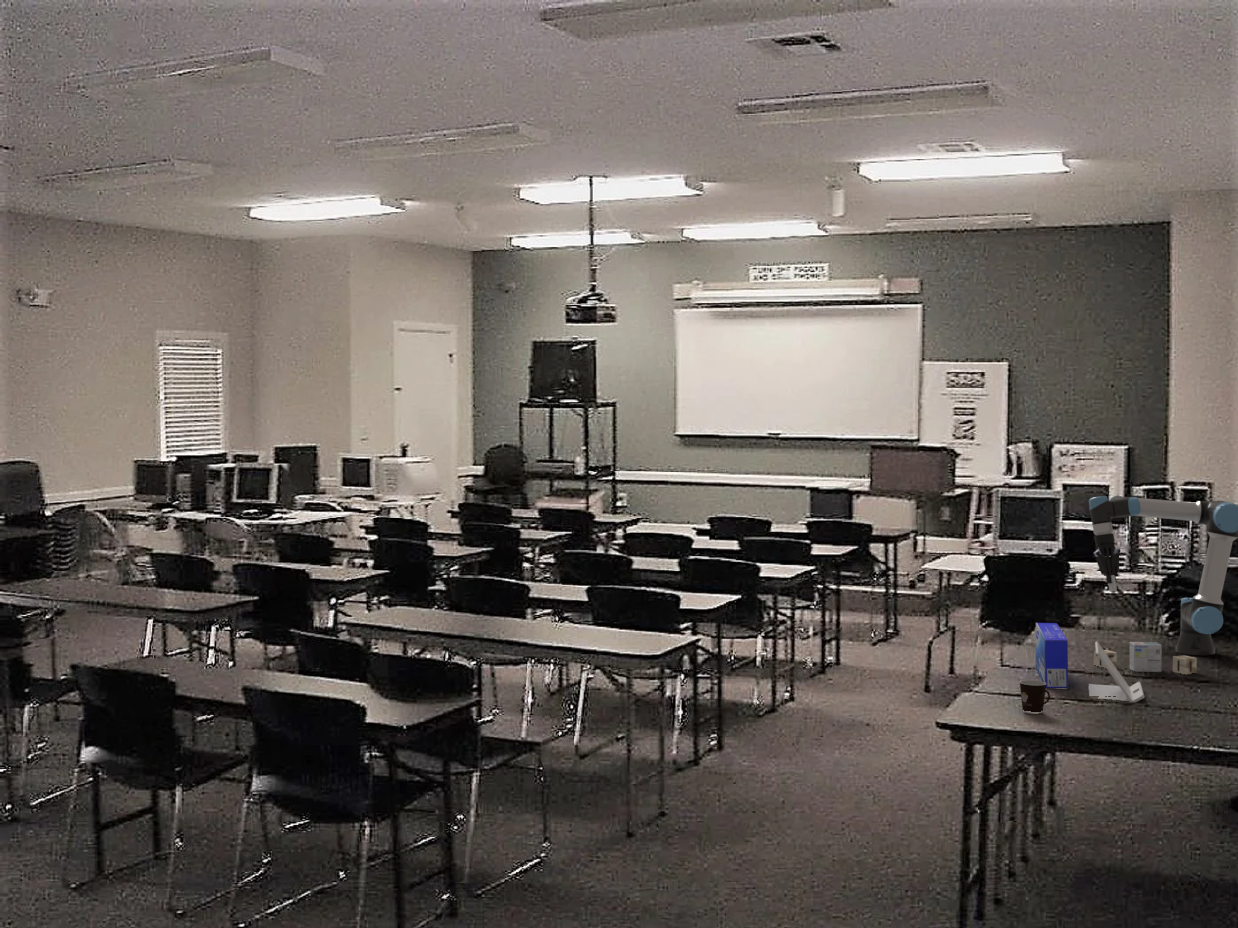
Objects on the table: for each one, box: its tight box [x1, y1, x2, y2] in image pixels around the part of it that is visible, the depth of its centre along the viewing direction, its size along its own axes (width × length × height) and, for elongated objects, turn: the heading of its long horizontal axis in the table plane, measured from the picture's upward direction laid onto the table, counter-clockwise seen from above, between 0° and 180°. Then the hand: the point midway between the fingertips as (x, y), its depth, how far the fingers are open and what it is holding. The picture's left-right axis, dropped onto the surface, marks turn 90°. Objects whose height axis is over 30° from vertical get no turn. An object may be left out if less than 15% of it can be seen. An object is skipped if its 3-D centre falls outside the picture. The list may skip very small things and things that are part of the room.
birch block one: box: [1172, 655, 1198, 675], centre depth 520 cm, size 6×6×6 cm
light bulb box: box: [1129, 641, 1163, 673], centre depth 524 cm, size 11×7×11 cm, turn 85°
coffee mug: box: [1019, 679, 1051, 712], centre depth 449 cm, size 12×9×10 cm
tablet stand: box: [1088, 640, 1145, 703], centre depth 480 cm, size 18×25×17 cm
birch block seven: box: [1093, 649, 1117, 669], centre depth 532 cm, size 6×6×6 cm
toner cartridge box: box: [1035, 622, 1069, 689], centre depth 507 cm, size 39×8×18 cm, turn 168°
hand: (1113, 591), depth 550 cm, fingers closed
